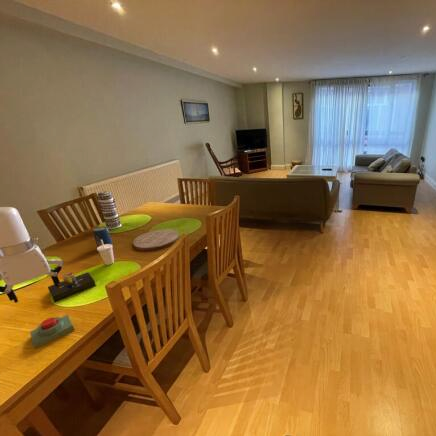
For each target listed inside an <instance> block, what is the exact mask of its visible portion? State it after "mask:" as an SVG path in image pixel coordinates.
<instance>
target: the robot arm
mask: <svg viewBox="0 0 436 436" xmlns="http://www.w3.org/2000/svg"><path fill="white" fill-rule="evenodd" d="M39 242H40V241H39V238H38V237H35V238H32V237H31V236H30V234H29V232H28V230H27V228H26V225H25V224H24V221H23V219H22V217H21V214H20V212H19V210H18V209H17V208H15V207H12V206H0V281H2V280H3V282H4V283H5V284H4V286H3V285H0V293H3V294H5V295H6V296H7V297H8V299H9V301H10V302H12V301H13V302H14V304H16V303H18V302H19V299H18V296H17V295H16V293H15V290H14V289H13V288H14V286H16V285H19V284H20V285H21V284H22V283H26V282H29V281H32V280H35V279H37V278H40V277H43V276H46V275H47V276H50V278H51V280H52V283H53V285H55V286H56V287H59V286H58V283H60V282H61V281H60V278H59V276H58V275H59V273H60V272H61V270H62V269H63V266H64V260H63V259H48V258H46V256H45V254H44V253H43V251H42V249H41V248H40V247H39V246H38V245H37V243H39ZM50 265H56V266H55V268H53V269H52V268H51V266H50Z"/></svg>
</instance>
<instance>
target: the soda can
mask: <svg viewBox="0 0 436 436" xmlns="http://www.w3.org/2000/svg"><path fill="white" fill-rule="evenodd" d="M92 235H93V237H94V240H95V243H96V246H97V248H98V247H99V246H101V245H102V242H101V240H102V241H103V244H104V245H105V244H112V245H113V241H112V238H111V235H110V232H109V229H107V227H106V226H97V227H95V228H93V231H92Z"/></svg>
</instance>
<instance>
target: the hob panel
mask: <svg viewBox="0 0 436 436" xmlns="http://www.w3.org/2000/svg"><path fill="white" fill-rule="evenodd" d="M75 279H76V281H77V282H76V283H75V284H74V285H71V286H66V284H65V282H64V280H63V281H60V283H58V286H59V287H56V286H55V285H54V284H51V285H49V286H47V289H48V291H49V294H50V296H51V298H52V300H53V303H58V302H60V301H63V300H65V299H67V298H69V297H70V298H71V297H72V296H74V295H77V294H80V293H82V292H84V290H85V291H87V290H89V289H92V288H94V287H97V284H96V281H95V279H94V278H93V277H92V275H91V274H90V273H89V271H87V272H84V273H82V274H78V275H76V276H75Z"/></svg>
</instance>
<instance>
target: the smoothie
mask: <svg viewBox="0 0 436 436" xmlns="http://www.w3.org/2000/svg"><path fill="white" fill-rule="evenodd" d="M101 242H102V245H101V246H99V247H98V246H97V248H96V250H97V252H98V253H99V255H100V257H101V258H102V260H103V262H104V264H105V265H106V266H111V265H113V264H114V263H115V257H114V251H113V250H114V249H113V248H114V246H113V243H112V244H105V245H104V244H103V241H102V240H101ZM112 263H113V264H112ZM110 264H111V265H110Z"/></svg>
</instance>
